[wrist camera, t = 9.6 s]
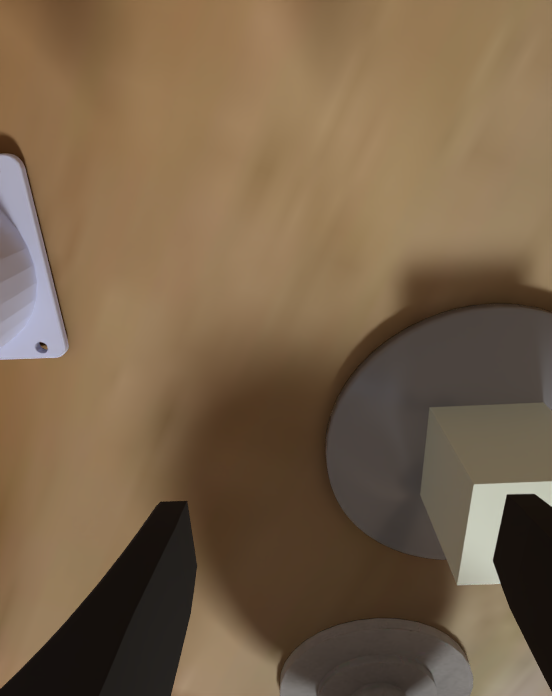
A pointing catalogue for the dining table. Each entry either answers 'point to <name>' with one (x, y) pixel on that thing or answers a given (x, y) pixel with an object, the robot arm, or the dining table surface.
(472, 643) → the dining table surface
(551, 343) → the plate
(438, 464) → the cube
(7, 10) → the dining table surface
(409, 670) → the mate gourd
